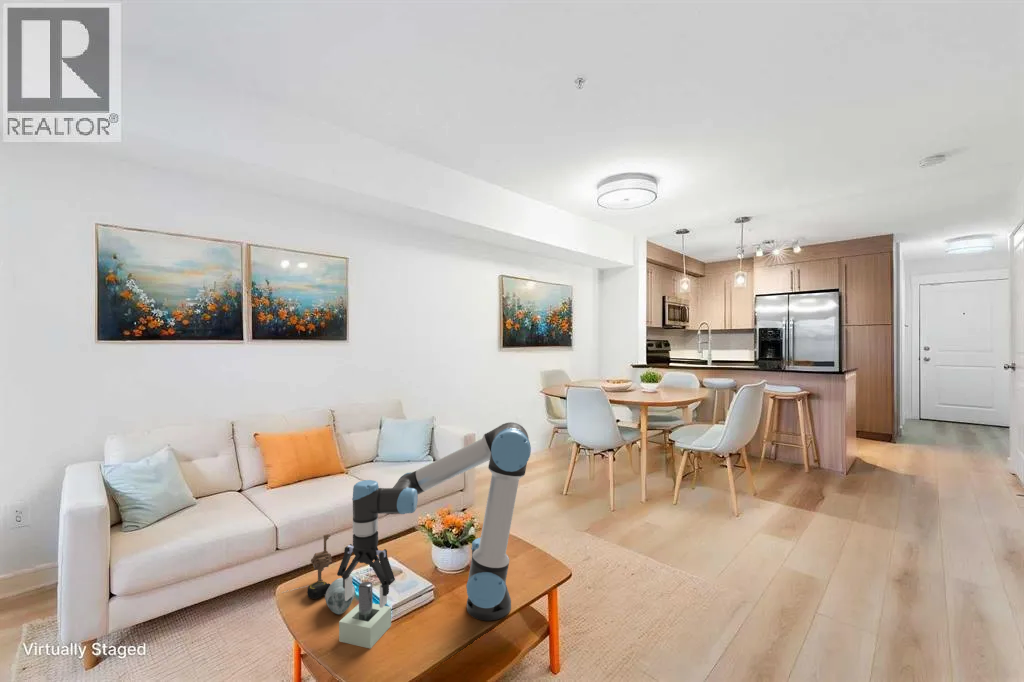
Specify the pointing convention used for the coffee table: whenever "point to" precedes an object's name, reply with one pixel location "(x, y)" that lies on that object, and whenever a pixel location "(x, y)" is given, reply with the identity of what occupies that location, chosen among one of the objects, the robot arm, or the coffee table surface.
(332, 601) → the grey rounded lump
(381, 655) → the coffee table surface
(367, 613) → the grey metal cylinder
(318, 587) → the tape measure
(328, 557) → the ostrich figurine
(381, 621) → the green block with hole
